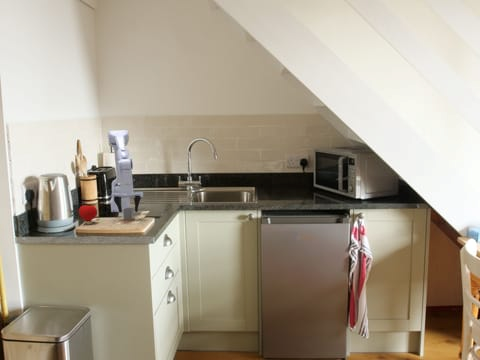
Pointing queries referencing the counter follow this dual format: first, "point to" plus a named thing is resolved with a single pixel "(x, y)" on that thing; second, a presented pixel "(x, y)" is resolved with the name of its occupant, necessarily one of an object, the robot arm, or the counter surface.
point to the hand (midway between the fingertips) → (128, 211)
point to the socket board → (137, 218)
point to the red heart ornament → (88, 213)
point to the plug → (128, 214)
